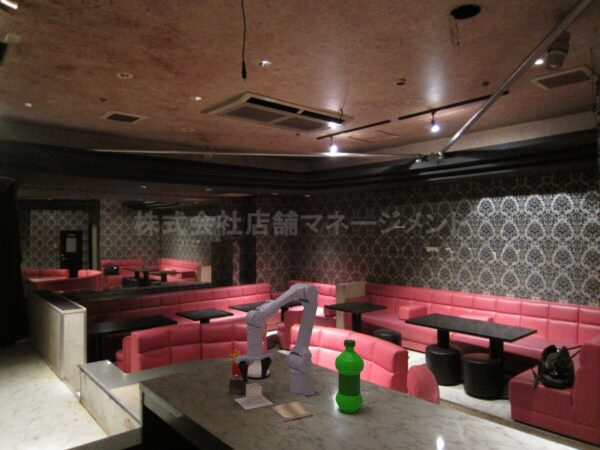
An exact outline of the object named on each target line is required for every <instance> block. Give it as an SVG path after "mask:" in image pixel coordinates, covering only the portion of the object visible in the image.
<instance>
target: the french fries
mask: <svg viewBox="0 0 600 450" xmlns="http://www.w3.org/2000/svg"><path fill="white" fill-rule="evenodd" d="M246 354H247V353H246ZM246 354H245V353H244V354H243V355H246ZM238 356H242V353H241V351H239V350H237V349H234V352H233V354H232V353H229V354H228V357H230V358H231V359H230V360H229V361H230V362H231V363H232V365H231V368H232V369H231V370H232V371H231V372H232V373H231V374H232V377H233V376H234V375H241V371H240V369H239V366H238V364H237V363H236V362H235V357H238ZM246 364H247V365H248V366H250V361H247V362H246ZM247 375H248V368H247Z"/></svg>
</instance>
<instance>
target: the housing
mask: <svg viewBox="0 0 600 450" xmlns="http://www.w3.org/2000/svg"><path fill="white" fill-rule="evenodd" d="M262 393H263V386H262V385H261V384H260V383H258V382H253V383H248V384H246V393H245V397H246V401H247V402H248V403H249V404H250V405H252V404H257V403H262V396H263V394H262Z"/></svg>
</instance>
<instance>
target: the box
mask: <svg viewBox="0 0 600 450" xmlns="http://www.w3.org/2000/svg"><path fill="white" fill-rule="evenodd" d="M246 384H249V376H247V382H243V380H242V375H234V376H233V375H232V376H231V377H230V378H229V395H233V396H245V395H246Z"/></svg>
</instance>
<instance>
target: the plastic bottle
mask: <svg viewBox="0 0 600 450" xmlns="http://www.w3.org/2000/svg"><path fill="white" fill-rule="evenodd" d="M343 346H344V347H345V348H344V350H343V351H342V352H340V354H338V356H336V358H335V361H334V367H335V369H336V370H337V372H338V374H337V375H338V383H337V384H338V386H337V390H338V391H337V393H336V395H335V402H336V403H335V404H336V405H337V406H338V407H339V409H340V410H341V411H342V412H344V413H346V414H353V412H354V413H356V411H358V410H359V409H360V408H361V406H362V405H363V402H364V401H363V400H364V399H363V396H362V394H361V373H362V372H363V371H364V368H365V362H364V359H363V357H362V356H361V355H359V354H358V352H356V351H355V347H356V340H354V339H344V340H343Z"/></svg>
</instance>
